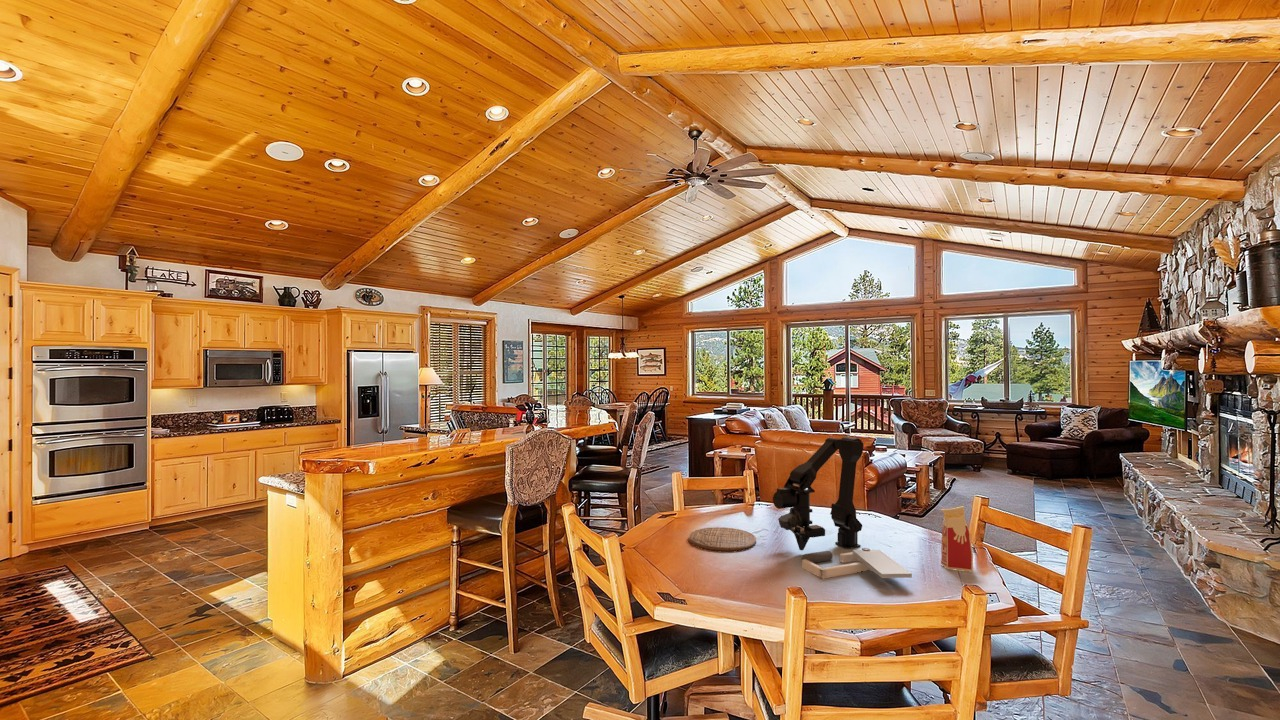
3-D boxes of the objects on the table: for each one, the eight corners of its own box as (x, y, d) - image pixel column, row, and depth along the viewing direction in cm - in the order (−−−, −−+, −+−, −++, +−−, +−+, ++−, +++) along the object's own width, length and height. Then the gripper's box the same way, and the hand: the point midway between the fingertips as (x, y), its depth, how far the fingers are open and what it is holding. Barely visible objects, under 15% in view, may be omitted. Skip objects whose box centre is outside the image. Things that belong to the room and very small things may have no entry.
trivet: (755, 554, 201) (755, 549, 201) (685, 550, 206) (685, 544, 206) (756, 534, 226) (756, 529, 226) (692, 530, 231) (692, 525, 231)
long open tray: (857, 558, 196) (857, 549, 196) (879, 568, 187) (879, 558, 187) (802, 567, 188) (802, 558, 188) (822, 578, 178) (822, 568, 178)
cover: (851, 552, 192) (851, 548, 192) (877, 552, 193) (877, 547, 193) (881, 578, 170) (881, 573, 170) (911, 577, 170) (911, 572, 170)
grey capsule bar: (828, 558, 197) (828, 548, 197) (834, 561, 194) (834, 551, 194) (799, 562, 193) (799, 553, 193) (805, 565, 190) (805, 556, 190)
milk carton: (968, 563, 192) (967, 503, 192) (974, 572, 183) (974, 510, 183) (937, 560, 195) (937, 501, 195) (942, 569, 186) (942, 507, 186)
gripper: (766, 501, 207) (766, 544, 207) (799, 514, 190) (799, 561, 190) (792, 498, 211) (792, 541, 211) (826, 511, 194) (826, 557, 194)
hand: (801, 550), depth 202 cm, fingers closed
